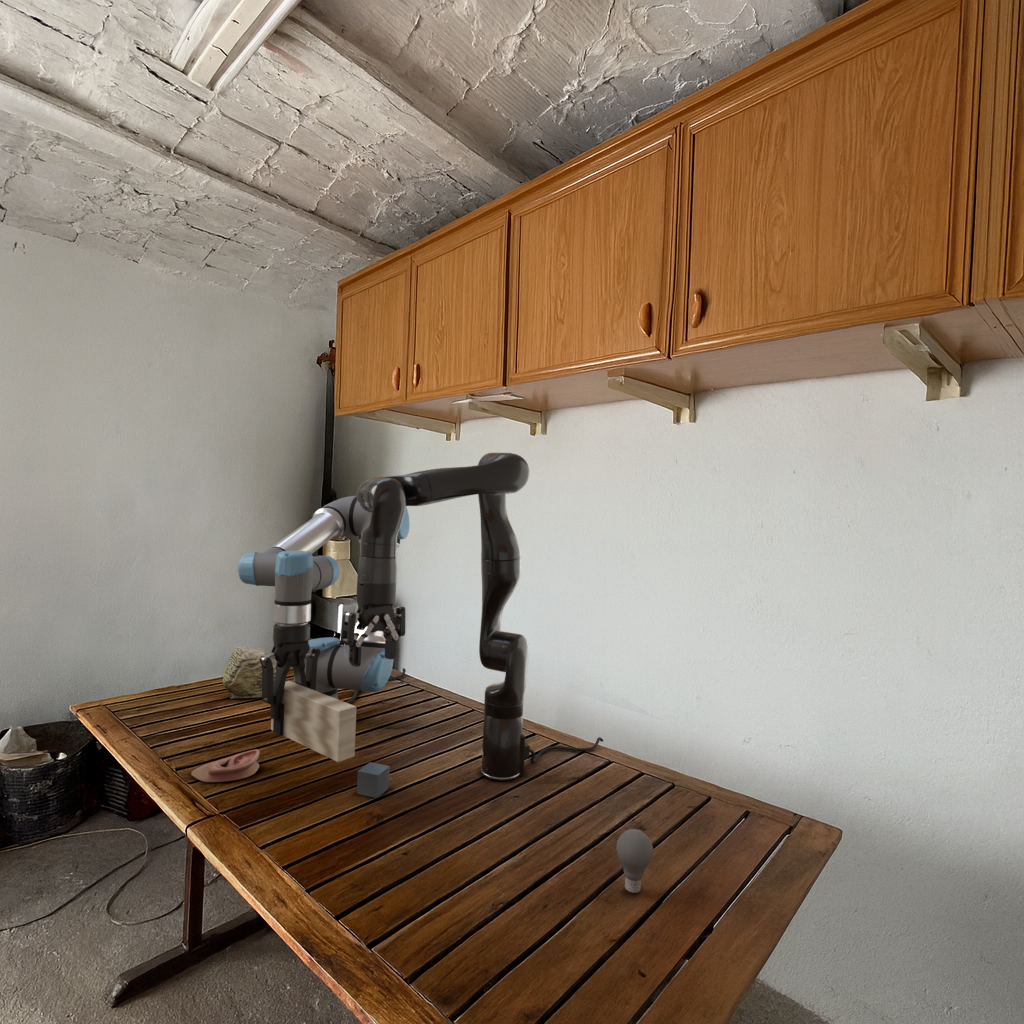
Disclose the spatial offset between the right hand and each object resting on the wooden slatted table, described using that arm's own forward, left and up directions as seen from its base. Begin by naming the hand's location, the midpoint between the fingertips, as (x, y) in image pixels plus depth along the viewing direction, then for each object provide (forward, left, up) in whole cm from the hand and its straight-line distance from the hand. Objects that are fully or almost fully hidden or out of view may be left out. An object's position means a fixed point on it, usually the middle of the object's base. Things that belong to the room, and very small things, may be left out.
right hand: (372, 662), depth 124 cm
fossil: (+22, -87, -32) cm, 95 cm away
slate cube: (-3, -12, -32) cm, 34 cm away
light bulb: (-39, +35, -32) cm, 61 cm away
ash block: (+10, -12, -19) cm, 25 cm away
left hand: (+14, -19, -19) cm, 30 cm away
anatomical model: (+27, -30, -32) cm, 51 cm away
